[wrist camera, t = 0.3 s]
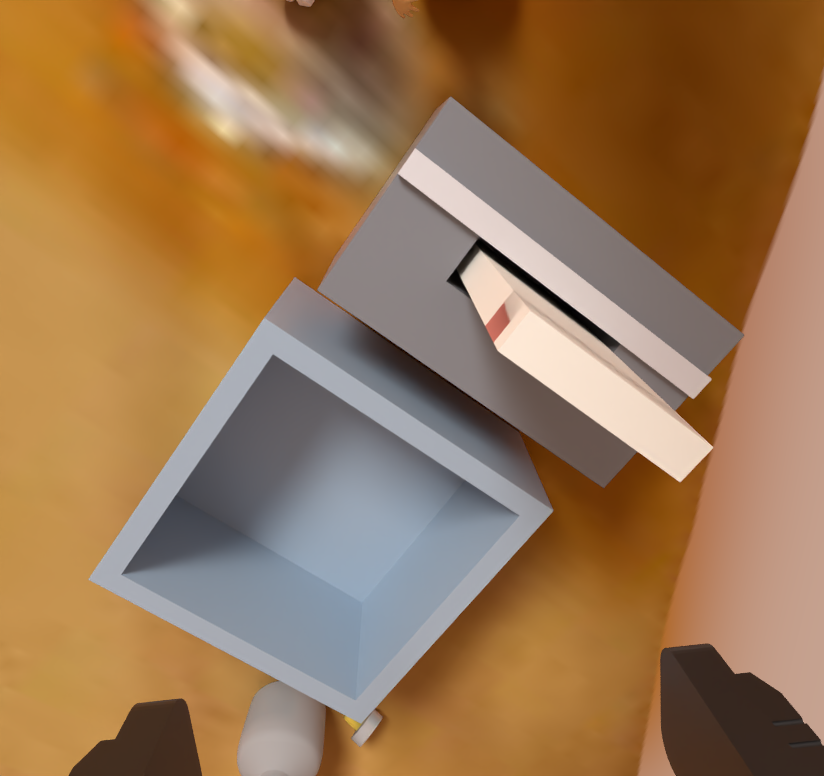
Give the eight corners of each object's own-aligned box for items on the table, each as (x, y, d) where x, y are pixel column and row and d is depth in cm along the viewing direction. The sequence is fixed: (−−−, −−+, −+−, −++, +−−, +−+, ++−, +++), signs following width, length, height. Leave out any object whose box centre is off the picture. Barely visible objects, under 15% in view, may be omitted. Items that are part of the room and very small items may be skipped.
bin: (294, 277, 32) (264, 318, 24) (519, 432, 35) (553, 510, 28) (152, 487, 36) (88, 579, 28) (367, 611, 39) (360, 723, 31)
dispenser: (335, 255, 32) (316, 292, 24) (436, 108, 30) (451, 95, 22) (558, 414, 35) (606, 492, 27) (664, 291, 33) (750, 338, 25)
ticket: (447, 250, 31) (497, 351, 16) (462, 228, 30) (530, 310, 15) (546, 324, 32) (680, 482, 17) (562, 304, 32) (713, 447, 17)
